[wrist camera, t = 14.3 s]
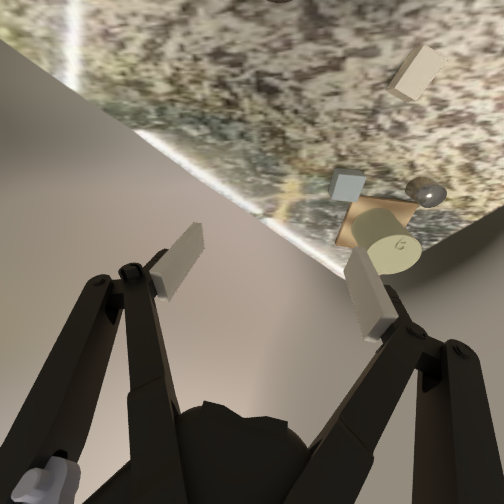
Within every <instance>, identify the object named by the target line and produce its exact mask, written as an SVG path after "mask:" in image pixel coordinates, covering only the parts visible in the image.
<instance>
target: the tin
mask: <svg viewBox="0 0 504 504" xmlns="http://www.w3.org/2000/svg"><path fill="white" fill-rule="evenodd" d="M405 192H406V194H407V195H408V196H409V197H411V198H412V199H413V200H415V201H416V202H417V203H418V204H420V205H421V206H422V207H425V208H431V207H435V206H437V205H439V204H440V203H441V202H443V200H444V199H445V198H446V195H447V191H446V189H445V188H443V187H441V186H439V185H438V184H436V183H434V182H432V181H430V180H428V179H426V178H424V177H418V178H415V179H413V180H411V181H410V182H409V183H408V184H407V186H406V188H405Z"/></svg>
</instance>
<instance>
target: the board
mask: <svg viewBox="0 0 504 504" xmlns="http://www.w3.org/2000/svg"><path fill="white" fill-rule="evenodd" d="M418 205H419V204H418V203H417V202H413V201H405V200H396V199H388V198H379V197H371V196H363V195H359V198H358V200H357V202H350V205H349V208H348V210H347V213H346V215H345V218H344V221H343V223H342V226H341V229H340V231H339V234H338V236H337V239H336V242H335V244H336V245H337V246H343V247H350V248H354V247H355V246H358V244H357V242H356V240H355V238H354V237H353V235H352V232H351V227H352V224H353V222H354V220H355V219H356V218H357V217H358V216H359V215H360V214H362V213H363V212H365V211H368V210H370V209H375V208H382V209H386V210H389V211H391V212H392V213H393V214H394V216H395V217H396V219H397V220H398V221H399V222H400V223H401V224H402V225H403V227H404V228H405V227H406V225H407V223H408V222H409V220H410V218H411V217H412V215H413V213H414V212H415V210H416V209H417V207H418ZM358 247H359V246H358Z"/></svg>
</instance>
